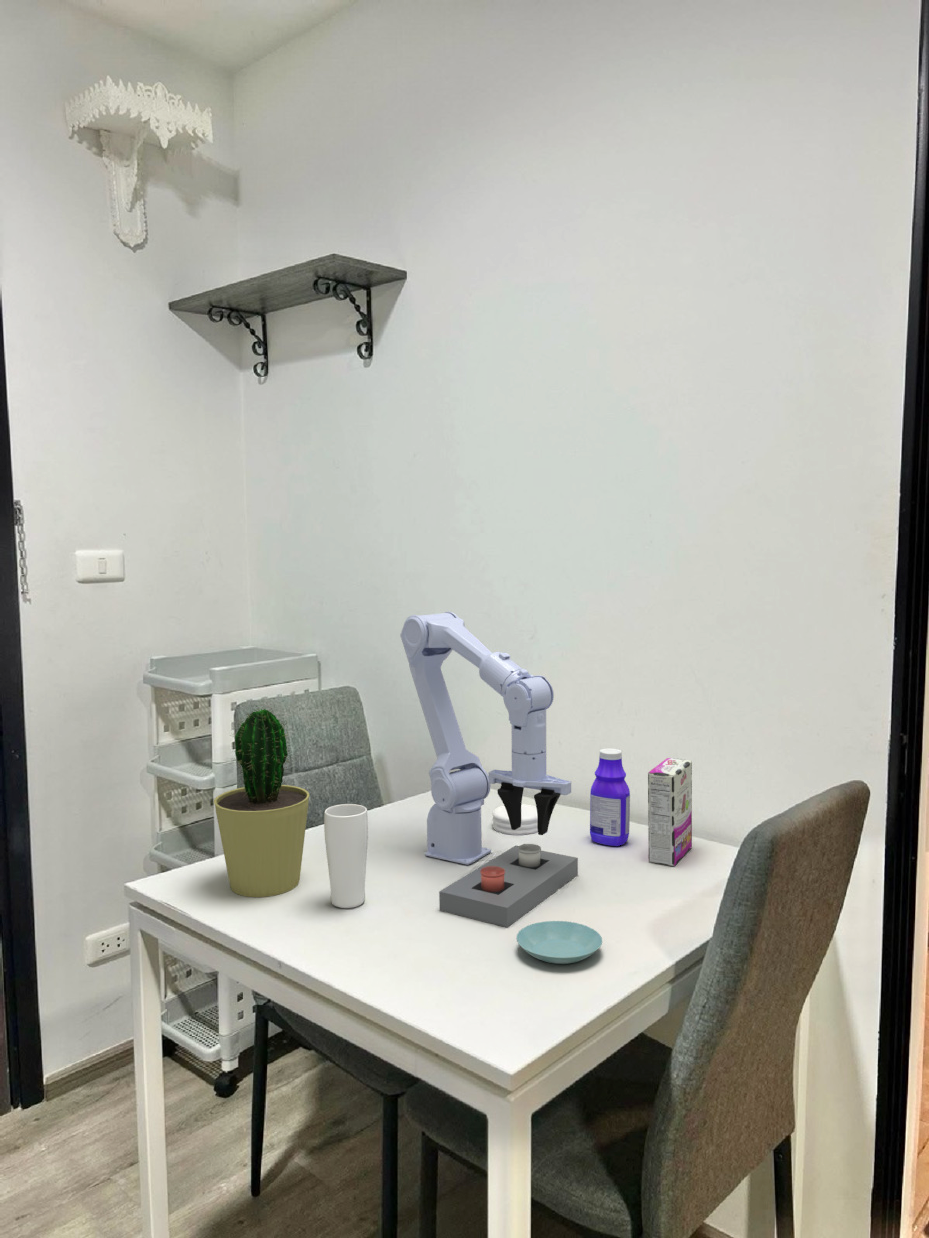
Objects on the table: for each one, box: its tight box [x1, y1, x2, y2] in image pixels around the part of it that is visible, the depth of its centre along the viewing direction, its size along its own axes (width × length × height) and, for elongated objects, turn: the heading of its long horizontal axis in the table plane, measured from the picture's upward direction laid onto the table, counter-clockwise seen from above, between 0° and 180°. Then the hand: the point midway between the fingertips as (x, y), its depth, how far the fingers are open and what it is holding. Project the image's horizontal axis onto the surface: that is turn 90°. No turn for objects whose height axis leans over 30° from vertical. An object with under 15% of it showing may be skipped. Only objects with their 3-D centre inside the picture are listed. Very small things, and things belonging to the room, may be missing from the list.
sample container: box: [517, 843, 542, 867], centre depth 153 cm, size 4×4×3 cm
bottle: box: [589, 747, 631, 847], centre depth 171 cm, size 7×6×17 cm
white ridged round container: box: [491, 803, 538, 836], centre depth 181 cm, size 10×10×4 cm
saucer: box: [516, 920, 603, 965], centre depth 127 cm, size 12×12×2 cm
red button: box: [480, 866, 505, 892], centre depth 143 cm, size 4×4×3 cm
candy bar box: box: [647, 757, 693, 867], centre depth 164 cm, size 11×5×16 cm, turn 150°
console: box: [438, 845, 579, 928], centre depth 148 cm, size 24×12×3 cm, turn 148°
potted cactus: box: [213, 705, 310, 898], centre depth 152 cm, size 15×15×30 cm
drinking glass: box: [323, 803, 369, 909], centre depth 144 cm, size 7×7×15 cm
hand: (529, 830), depth 153 cm, fingers open, 4 cm apart
